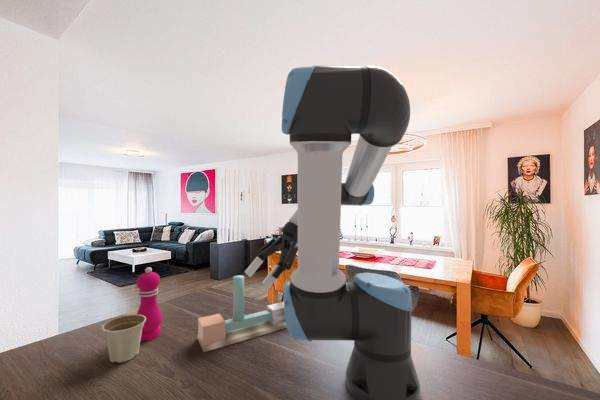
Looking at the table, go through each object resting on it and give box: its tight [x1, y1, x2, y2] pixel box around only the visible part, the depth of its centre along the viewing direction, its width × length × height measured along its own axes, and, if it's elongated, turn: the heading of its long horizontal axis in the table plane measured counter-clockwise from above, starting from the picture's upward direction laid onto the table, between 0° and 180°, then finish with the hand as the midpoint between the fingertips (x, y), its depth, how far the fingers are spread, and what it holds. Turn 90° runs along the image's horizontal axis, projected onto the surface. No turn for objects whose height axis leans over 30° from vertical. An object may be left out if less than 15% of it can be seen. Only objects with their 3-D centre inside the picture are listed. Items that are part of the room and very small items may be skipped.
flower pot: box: [101, 314, 146, 364], centre depth 68 cm, size 9×9×9 cm
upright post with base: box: [224, 275, 272, 333], centre depth 80 cm, size 21×3×15 cm, turn 122°
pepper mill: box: [135, 266, 163, 342], centre depth 78 cm, size 7×7×20 cm
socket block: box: [197, 313, 226, 346], centre depth 75 cm, size 6×6×5 cm
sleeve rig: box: [196, 301, 287, 353], centre depth 81 cm, size 30×8×6 cm, turn 122°
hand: (255, 280), depth 82 cm, fingers open, 13 cm apart
